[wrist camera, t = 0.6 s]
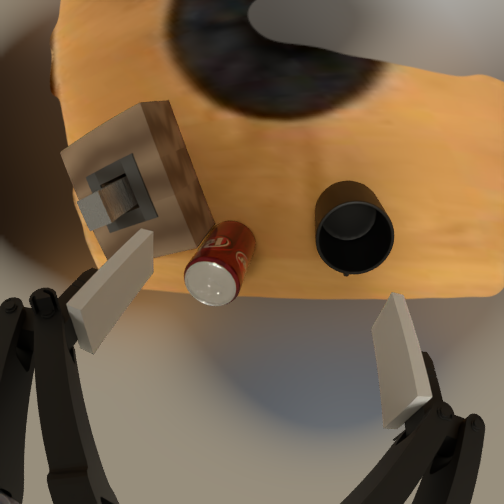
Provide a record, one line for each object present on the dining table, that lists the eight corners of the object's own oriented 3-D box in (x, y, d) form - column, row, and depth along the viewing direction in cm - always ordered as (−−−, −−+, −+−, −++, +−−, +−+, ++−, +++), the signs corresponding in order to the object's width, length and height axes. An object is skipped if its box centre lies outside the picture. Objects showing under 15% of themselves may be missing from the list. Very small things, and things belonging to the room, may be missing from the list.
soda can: (202, 243, 47) (173, 286, 37) (226, 209, 44) (198, 247, 34) (239, 269, 48) (219, 317, 38) (265, 238, 45) (250, 283, 35)
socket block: (92, 141, 42) (58, 152, 35) (168, 100, 37) (138, 102, 30) (135, 244, 50) (110, 268, 43) (214, 223, 45) (196, 248, 38)
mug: (311, 254, 45) (310, 289, 37) (316, 177, 39) (318, 197, 31) (371, 259, 43) (382, 294, 35) (383, 183, 37) (400, 205, 30)
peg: (111, 182, 38) (76, 201, 31) (132, 173, 37) (97, 191, 30) (122, 208, 40) (90, 231, 33) (143, 200, 38) (111, 222, 32)
